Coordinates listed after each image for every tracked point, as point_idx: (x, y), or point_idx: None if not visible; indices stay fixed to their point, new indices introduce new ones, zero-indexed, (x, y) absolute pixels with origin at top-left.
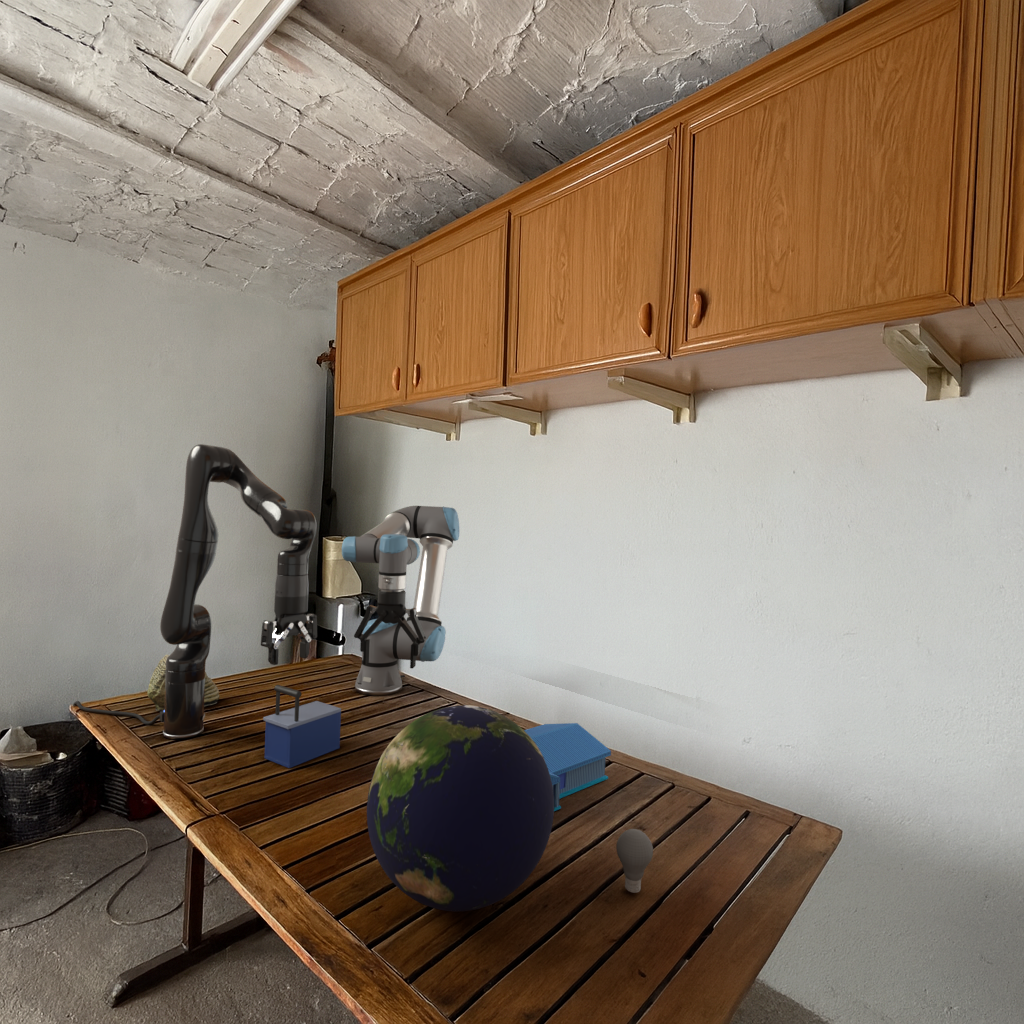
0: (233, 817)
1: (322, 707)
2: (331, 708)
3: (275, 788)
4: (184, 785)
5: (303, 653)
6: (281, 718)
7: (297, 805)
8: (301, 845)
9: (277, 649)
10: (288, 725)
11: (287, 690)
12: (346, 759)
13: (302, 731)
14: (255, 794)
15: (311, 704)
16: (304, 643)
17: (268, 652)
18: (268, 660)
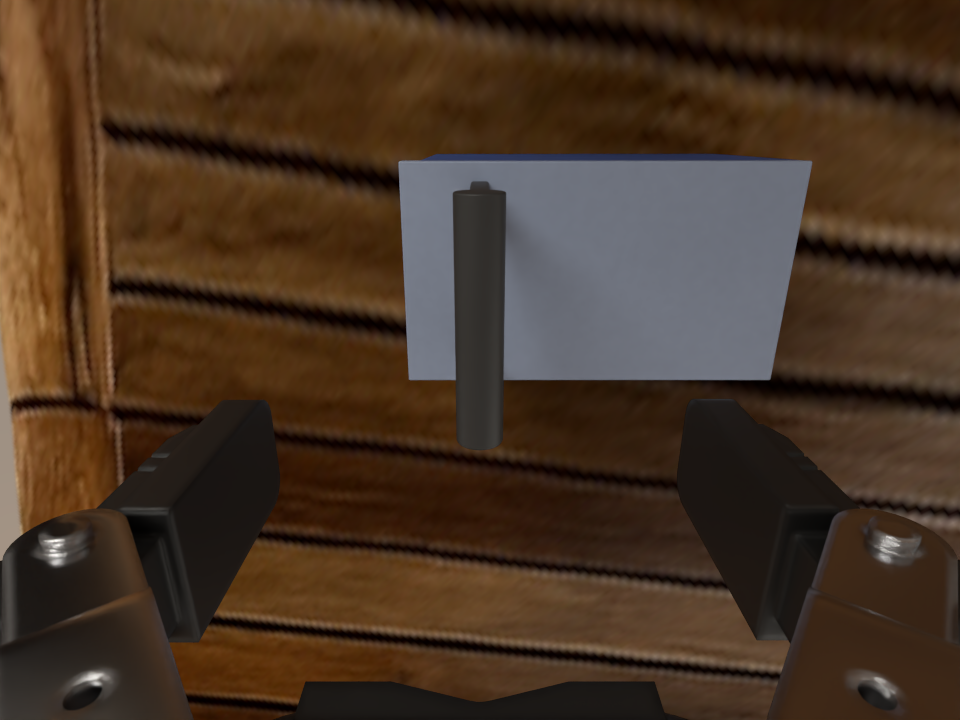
0: (131, 457)
1: (726, 292)
2: (739, 343)
3: (315, 402)
4: (84, 132)
5: (699, 489)
6: (453, 264)
7: (300, 528)
8: (199, 663)
9: (180, 636)
10: (413, 375)
11: (459, 349)
12: (623, 408)
13: None
14: (246, 389)
15: (735, 196)
16: (758, 606)
17: (106, 501)
18: (176, 437)
